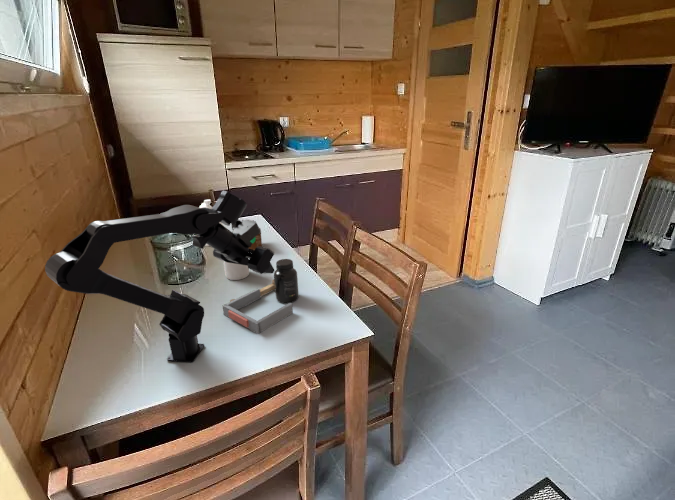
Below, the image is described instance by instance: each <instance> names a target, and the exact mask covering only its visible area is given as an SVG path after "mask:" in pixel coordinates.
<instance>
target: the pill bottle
mask: <svg viewBox="0 0 675 500" xmlns="http://www.w3.org/2000/svg"><path fill="white" fill-rule="evenodd" d="M222 262H223V269H224V274H225V278H226V279H228V280H231V281H240V280H243V279H245V278H247V277H248V276H249V275H250V269H249V268H248V266H247V265H241V264H234V263H228V262H225V261H222Z"/></svg>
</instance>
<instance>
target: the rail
mask: <svg viewBox="0 0 675 500" xmlns="http://www.w3.org/2000/svg"><path fill="white" fill-rule="evenodd" d="M259 289H260V296H261V297H262V296H264V295H266V294H269V293H271V292H273V291H275V282H274V278H273V279H272V280H271V283H270V284H268V285H266V286H264V287H262V288H259ZM235 299H236V298H233V299H230V300H229V302H230V301H232V300H235Z"/></svg>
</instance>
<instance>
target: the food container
mask: <svg viewBox="0 0 675 500" xmlns="http://www.w3.org/2000/svg"><path fill="white" fill-rule="evenodd" d="M251 220H252V221H255V220H253V219H251ZM259 229H260V230H261V227H259ZM250 242H252V245H251V247H249V249H252V250H255V248H256V247H259V246H262V247H263V242H262V230H261V232H260V234H258V235H257V236H256V237H254V238H253V239H252V240H251V241H250Z"/></svg>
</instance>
